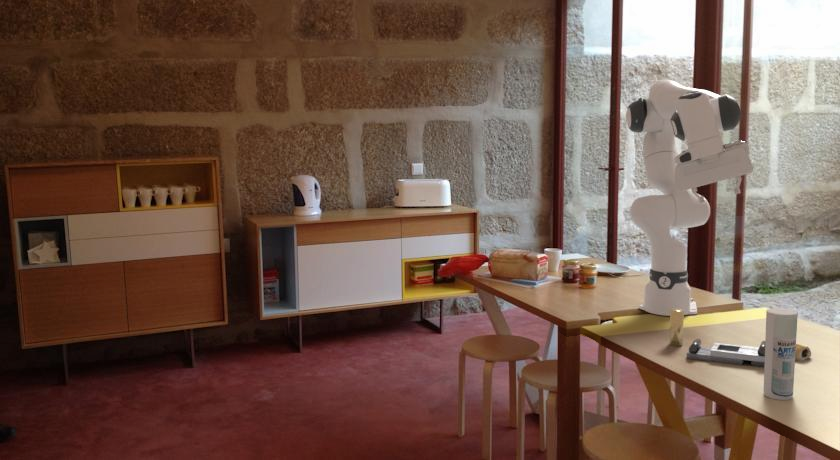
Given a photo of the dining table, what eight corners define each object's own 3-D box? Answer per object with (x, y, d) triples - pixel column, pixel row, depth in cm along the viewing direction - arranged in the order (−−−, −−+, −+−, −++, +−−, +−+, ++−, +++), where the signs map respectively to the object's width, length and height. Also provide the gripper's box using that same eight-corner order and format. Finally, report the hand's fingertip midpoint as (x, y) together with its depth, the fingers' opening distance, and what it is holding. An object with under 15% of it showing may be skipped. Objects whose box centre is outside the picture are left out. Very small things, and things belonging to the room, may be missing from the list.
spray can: (782, 389, 185) (786, 307, 183) (799, 399, 179) (804, 313, 176) (757, 391, 184) (760, 308, 182) (773, 401, 178) (777, 315, 175)
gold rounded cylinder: (670, 342, 226) (671, 308, 224) (683, 343, 224) (684, 309, 223) (668, 345, 223) (669, 311, 221) (681, 346, 221) (682, 312, 220)
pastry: (766, 354, 214) (767, 340, 213) (782, 350, 217) (782, 337, 217) (798, 362, 206) (799, 348, 205) (814, 358, 209) (814, 344, 209)
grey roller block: (686, 358, 211) (687, 340, 210) (691, 350, 218) (692, 332, 217) (767, 368, 201) (768, 349, 200) (770, 359, 208) (771, 341, 207)
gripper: (744, 138, 214) (758, 186, 214) (669, 159, 220) (682, 206, 221) (747, 138, 208) (761, 188, 208) (669, 160, 214) (682, 209, 215)
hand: (719, 198), depth 215 cm, fingers open, 8 cm apart
